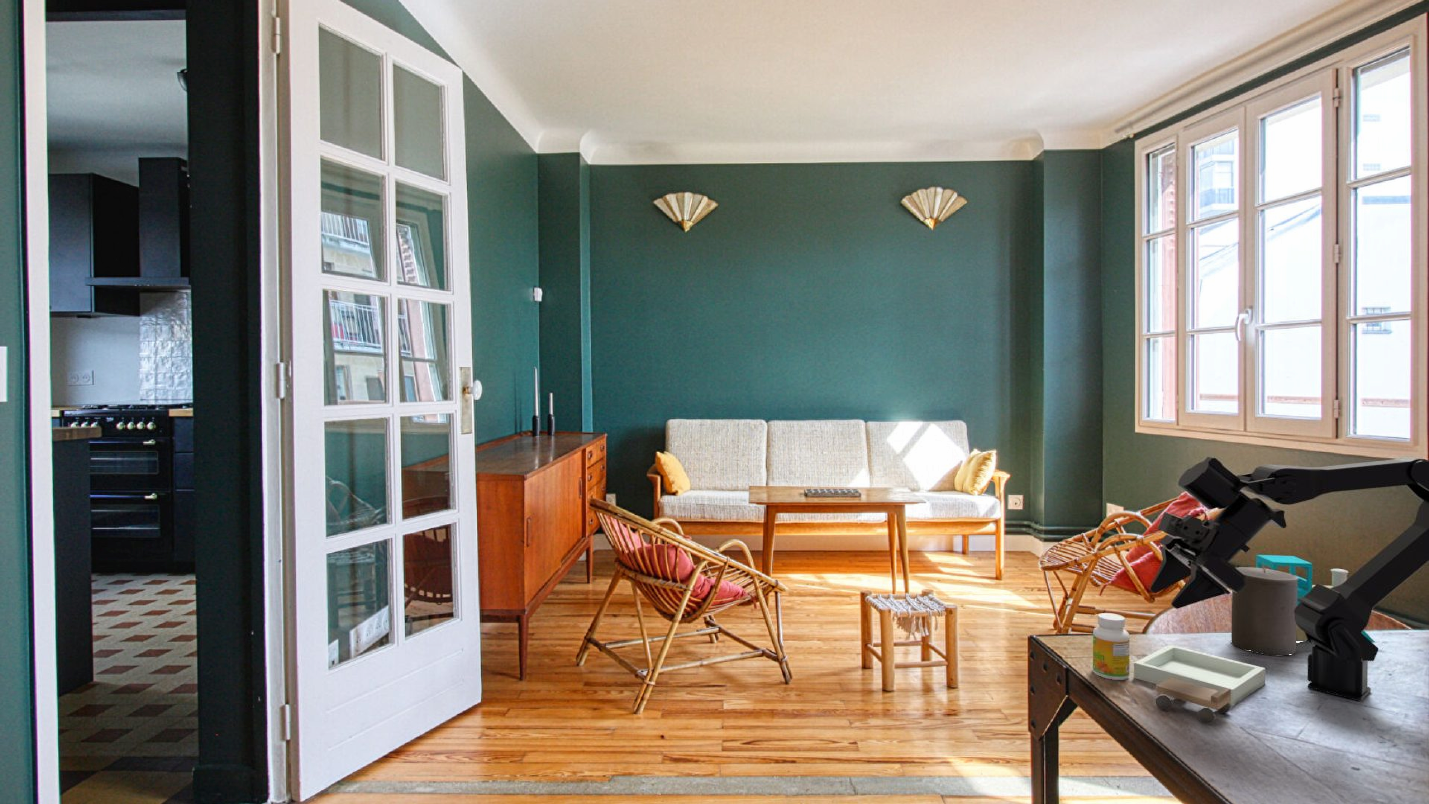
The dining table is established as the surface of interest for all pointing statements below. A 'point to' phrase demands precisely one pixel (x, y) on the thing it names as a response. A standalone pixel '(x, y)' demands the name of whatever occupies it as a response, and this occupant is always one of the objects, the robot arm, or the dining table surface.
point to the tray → (1200, 671)
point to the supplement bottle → (1111, 647)
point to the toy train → (1303, 585)
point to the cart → (1194, 698)
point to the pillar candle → (1265, 612)
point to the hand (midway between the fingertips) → (1162, 598)
